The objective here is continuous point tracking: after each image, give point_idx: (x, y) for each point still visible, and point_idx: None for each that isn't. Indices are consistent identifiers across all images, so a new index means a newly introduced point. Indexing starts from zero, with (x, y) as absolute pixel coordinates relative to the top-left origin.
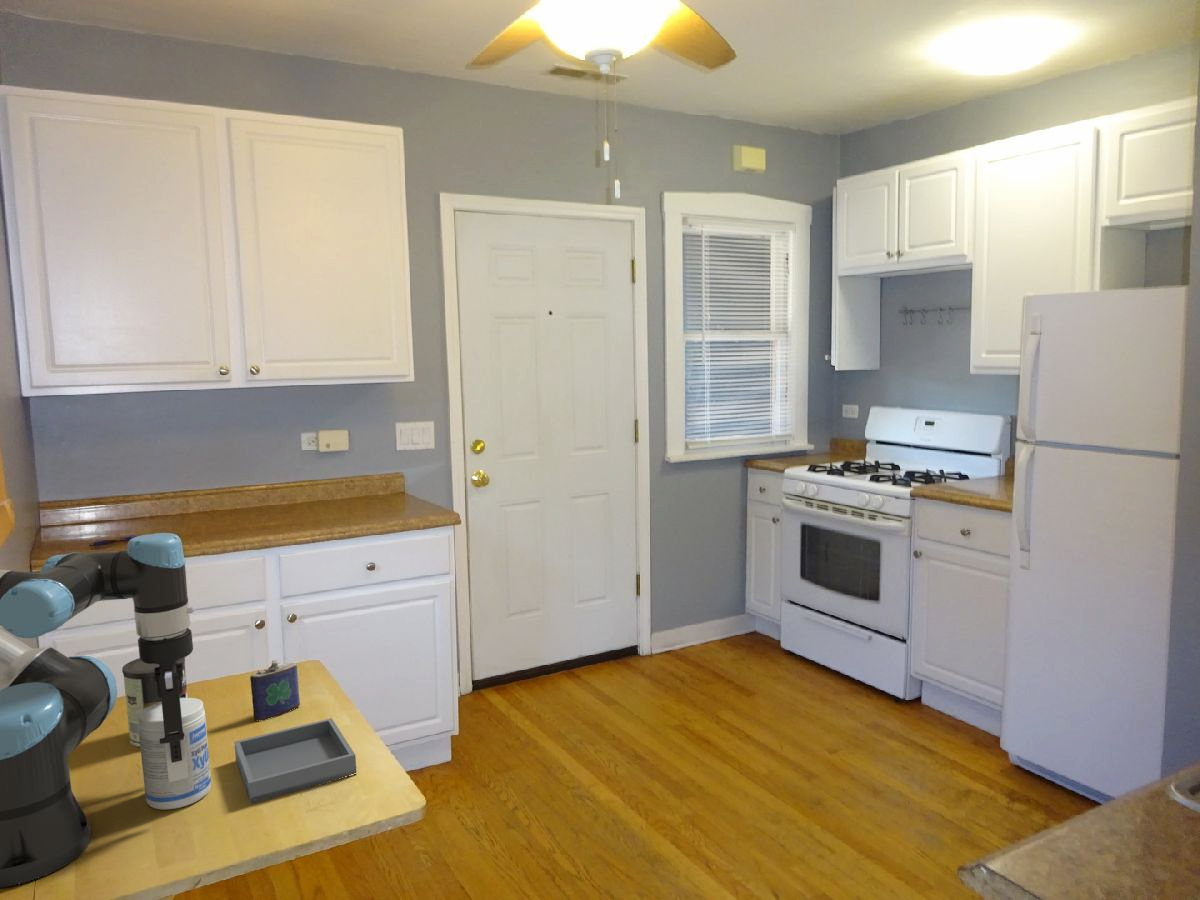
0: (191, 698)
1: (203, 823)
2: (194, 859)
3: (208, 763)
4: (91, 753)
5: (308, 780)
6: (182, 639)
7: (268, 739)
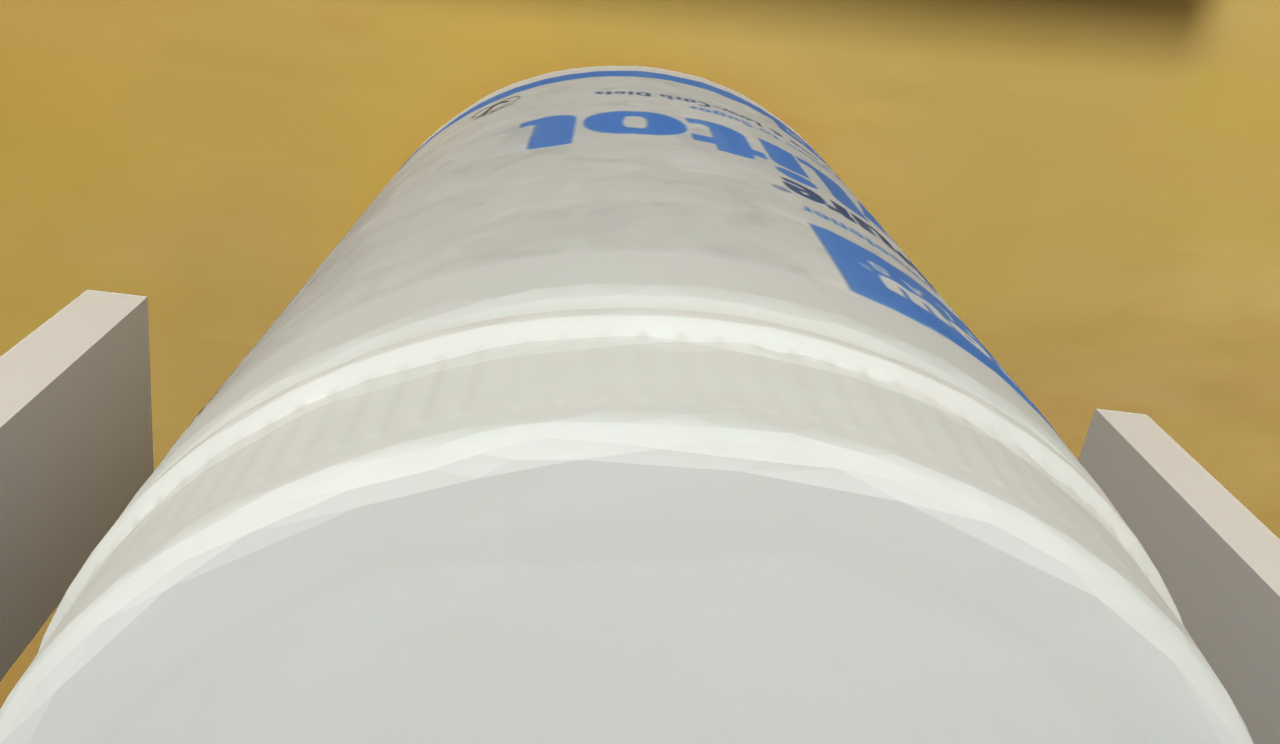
0: (174, 629)
1: (1192, 229)
2: None
3: (761, 132)
4: None
5: None
6: None
7: None
